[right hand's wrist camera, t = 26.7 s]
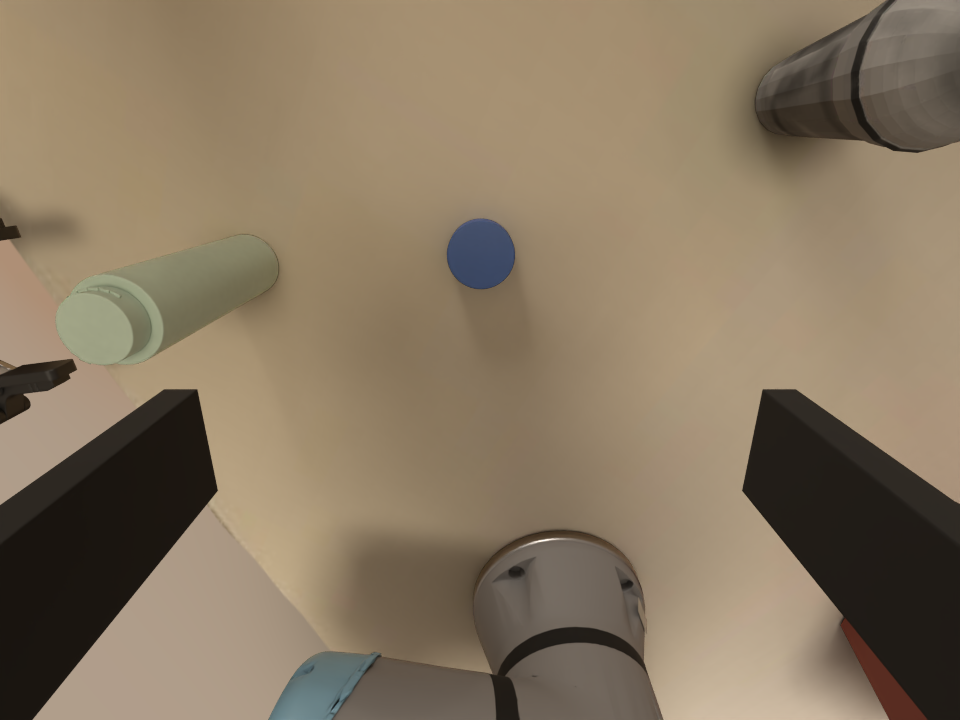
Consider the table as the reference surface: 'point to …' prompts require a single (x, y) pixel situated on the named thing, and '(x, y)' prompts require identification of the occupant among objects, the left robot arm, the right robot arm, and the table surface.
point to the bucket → (882, 680)
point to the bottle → (162, 299)
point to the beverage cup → (874, 80)
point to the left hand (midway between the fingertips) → (38, 303)
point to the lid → (480, 254)
